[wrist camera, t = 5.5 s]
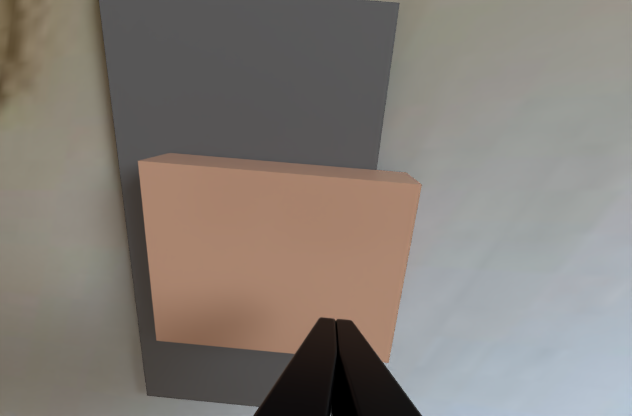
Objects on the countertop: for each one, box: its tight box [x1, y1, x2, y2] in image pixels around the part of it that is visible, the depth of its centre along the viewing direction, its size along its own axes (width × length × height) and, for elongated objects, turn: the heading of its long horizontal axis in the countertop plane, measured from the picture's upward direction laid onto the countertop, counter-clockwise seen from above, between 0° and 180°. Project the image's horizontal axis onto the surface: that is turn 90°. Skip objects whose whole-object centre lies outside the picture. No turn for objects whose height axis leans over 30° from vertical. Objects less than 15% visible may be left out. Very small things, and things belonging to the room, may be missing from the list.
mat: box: [99, 0, 399, 414], centre depth 13 cm, size 18×10×1 cm, turn 176°
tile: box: [138, 153, 422, 363], centre depth 12 cm, size 7×2×9 cm
